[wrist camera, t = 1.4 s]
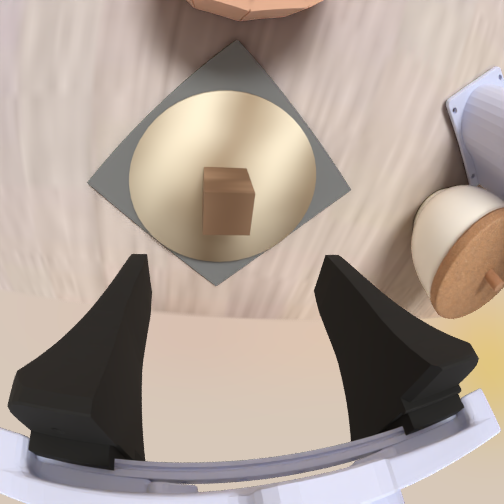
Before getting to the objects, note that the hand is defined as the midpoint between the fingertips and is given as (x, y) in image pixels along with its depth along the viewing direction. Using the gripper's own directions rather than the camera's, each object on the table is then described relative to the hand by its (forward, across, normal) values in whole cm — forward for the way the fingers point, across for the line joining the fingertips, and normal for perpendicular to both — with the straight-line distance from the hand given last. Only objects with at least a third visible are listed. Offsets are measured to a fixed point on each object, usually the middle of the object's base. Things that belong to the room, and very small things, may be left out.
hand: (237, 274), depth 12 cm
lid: (+9, 0, 0) cm, 9 cm away
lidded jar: (+10, -20, +2) cm, 22 cm away
